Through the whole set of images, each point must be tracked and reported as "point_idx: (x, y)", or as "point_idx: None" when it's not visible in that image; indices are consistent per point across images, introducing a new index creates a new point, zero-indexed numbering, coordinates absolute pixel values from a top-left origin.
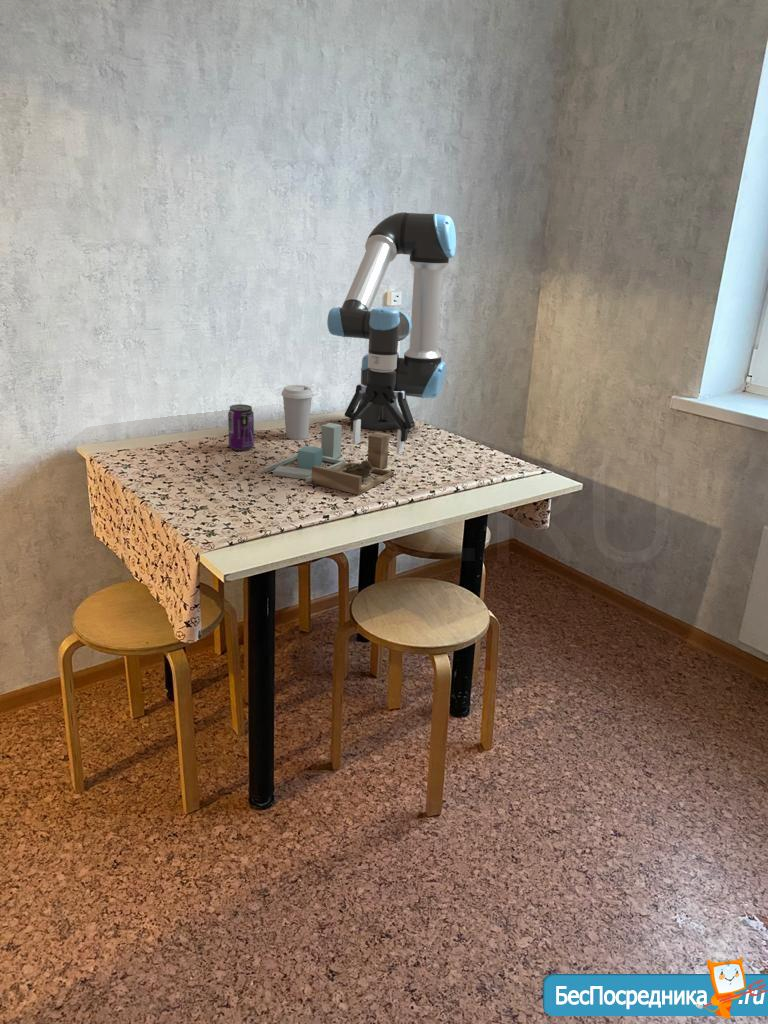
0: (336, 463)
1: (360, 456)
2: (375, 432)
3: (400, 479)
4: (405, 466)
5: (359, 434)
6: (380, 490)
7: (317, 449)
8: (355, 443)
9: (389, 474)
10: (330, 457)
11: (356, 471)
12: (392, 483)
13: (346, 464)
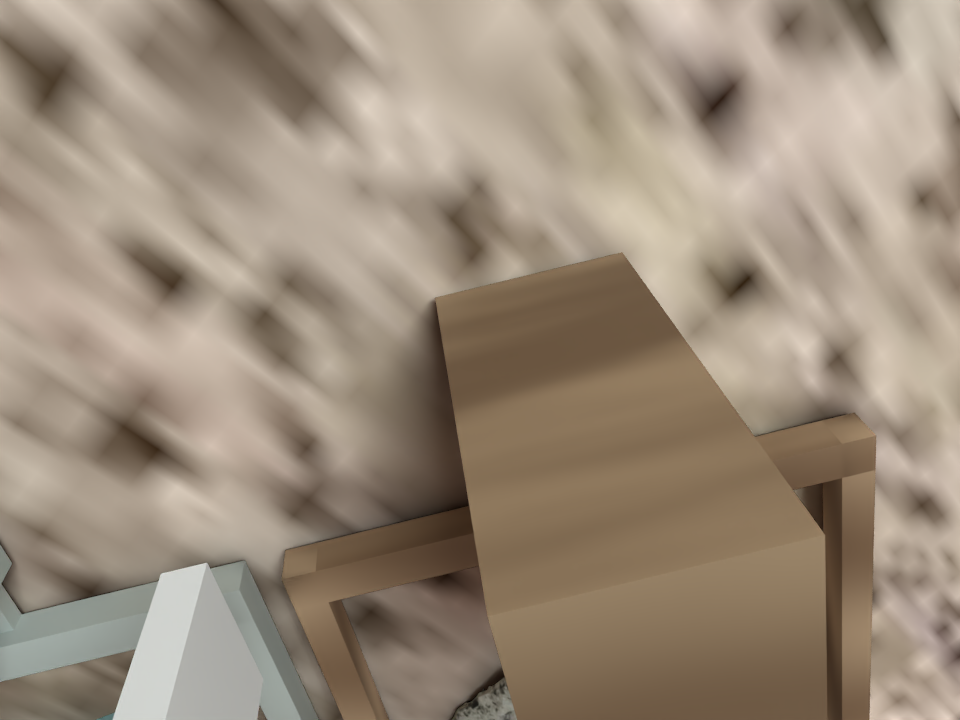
0: None
1: (42, 203)
2: (500, 640)
3: (954, 421)
4: (787, 25)
5: (188, 706)
6: (927, 697)
7: None
8: (253, 678)
9: (872, 513)
10: (31, 642)
11: None
12: (937, 542)
13: (347, 647)
